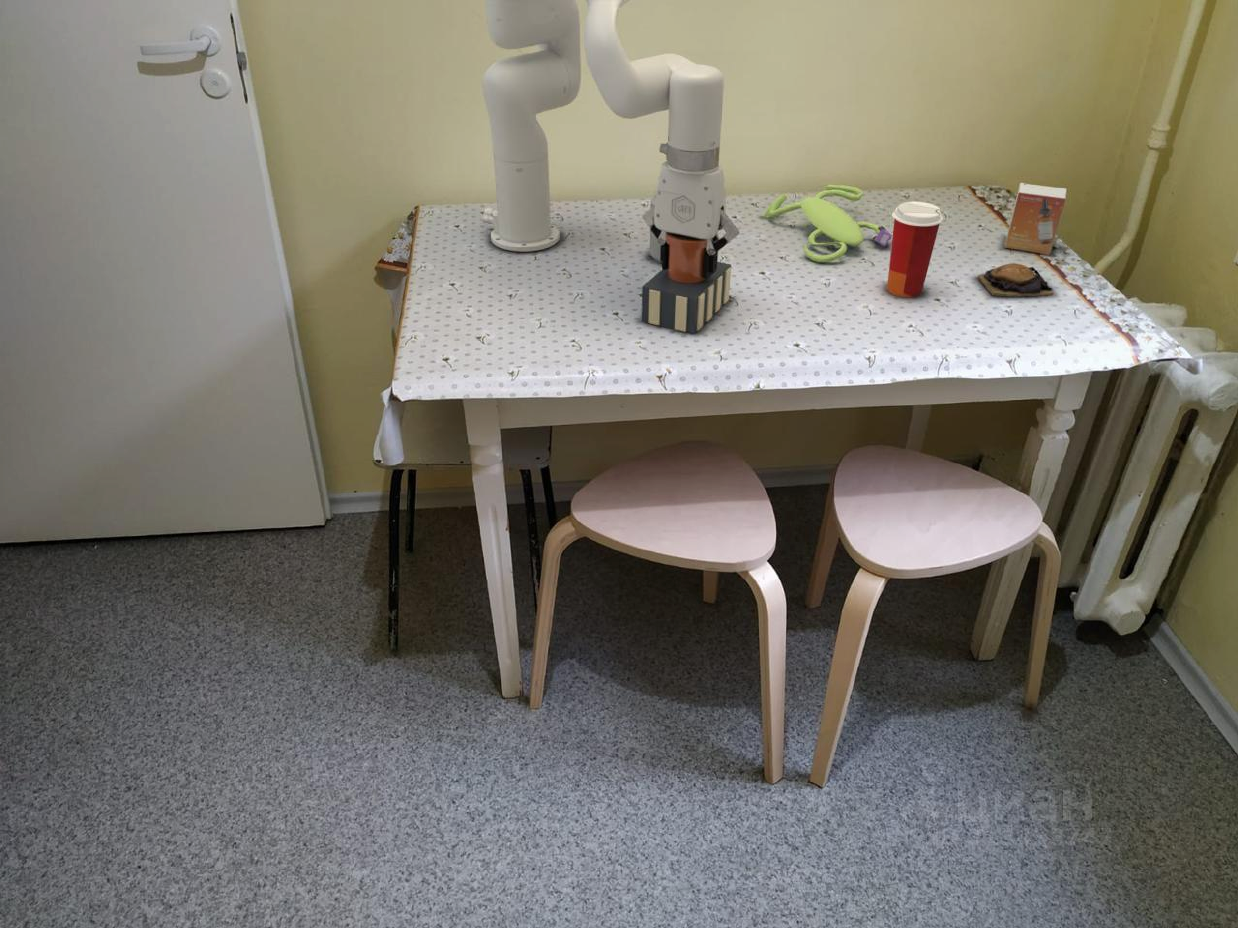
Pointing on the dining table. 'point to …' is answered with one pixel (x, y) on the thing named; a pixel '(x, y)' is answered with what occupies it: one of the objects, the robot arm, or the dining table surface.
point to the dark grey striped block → (685, 300)
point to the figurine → (830, 221)
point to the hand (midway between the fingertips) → (688, 270)
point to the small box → (1035, 218)
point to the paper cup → (912, 247)
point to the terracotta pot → (685, 258)
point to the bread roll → (1015, 281)
